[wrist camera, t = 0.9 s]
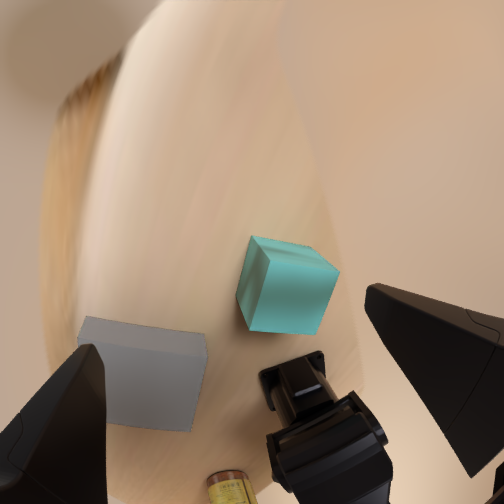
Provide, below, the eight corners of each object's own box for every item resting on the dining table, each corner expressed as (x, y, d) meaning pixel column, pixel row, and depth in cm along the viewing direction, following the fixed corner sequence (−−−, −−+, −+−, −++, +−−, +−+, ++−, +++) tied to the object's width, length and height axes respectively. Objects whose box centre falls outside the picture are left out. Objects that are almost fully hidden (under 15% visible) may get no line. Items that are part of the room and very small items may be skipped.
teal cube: (291, 301, 25) (315, 334, 21) (235, 294, 24) (249, 330, 19) (310, 246, 24) (339, 271, 19) (251, 235, 22) (270, 260, 18)
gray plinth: (188, 409, 27) (190, 432, 24) (91, 397, 24) (87, 418, 22) (204, 333, 24) (207, 356, 22) (86, 315, 21) (77, 337, 19)
